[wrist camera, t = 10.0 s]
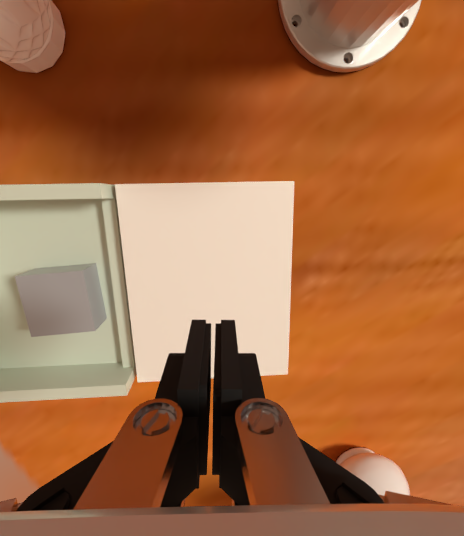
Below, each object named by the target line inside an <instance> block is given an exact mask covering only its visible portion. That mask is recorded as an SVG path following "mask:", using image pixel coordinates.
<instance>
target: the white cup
mask: <svg viewBox="0 0 464 536" xmlns="http://www.w3.org/2000/svg"><path fill="white" fill-rule="evenodd" d="M64 40H65V29H64V25H63V21H62V17H61V13H60V11H59V10H58V8H57V7H56V5H55V4H54V2H53V1H52V0H0V61H2V62H4V63H6V64H7V65H9V66H11V67H13V68H14V69H16V70H18V71H23V72H33V73H38V72H40V71H43V70H45V69H47V68H50V67H52V66H53V65H54V64H55V62H56V61H57V59H58V58H59V57H60V55H61V54H62V52H63V47H64Z"/></svg>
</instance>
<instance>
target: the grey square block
mask: <svg viewBox="0 0 464 536" xmlns="http://www.w3.org/2000/svg"><path fill="white" fill-rule="evenodd" d="M15 280H16V284H17V287H18V291H19V294H20V298H21V302H22V305H23V309H24V313H25V316H26V320H27V324H28V327H29V331H30V334H31V337H38V336H48V335H59V334H70V333H80V332H91V331H96V330H97V329H98V328H99V327H100V325H101V324H102V323H103V322H104V321H105V320H106V319H107V316H106V310H105V305H104V300H103V295H102V290H101V285H100V280H99V275H98V270H97V265H96V263H91V264H79V265H67V266H55V267H43V268H34V269H32V270H29V271H27V272H24V273H22V274H19V275H17V276H15Z"/></svg>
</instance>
